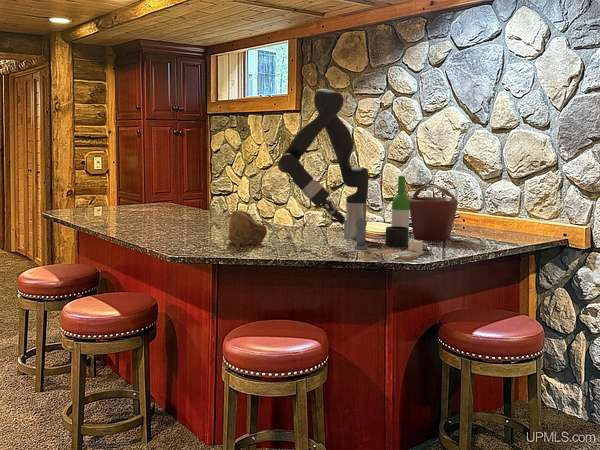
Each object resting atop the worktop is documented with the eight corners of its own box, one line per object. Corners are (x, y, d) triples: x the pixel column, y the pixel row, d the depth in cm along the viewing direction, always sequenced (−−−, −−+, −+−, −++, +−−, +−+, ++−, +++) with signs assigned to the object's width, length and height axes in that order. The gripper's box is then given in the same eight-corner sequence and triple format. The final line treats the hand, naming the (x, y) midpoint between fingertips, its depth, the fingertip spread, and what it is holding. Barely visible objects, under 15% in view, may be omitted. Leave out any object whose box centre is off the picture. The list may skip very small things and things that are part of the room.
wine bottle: (394, 245, 286) (396, 176, 282) (388, 242, 294) (390, 175, 290) (411, 245, 288) (413, 176, 284) (404, 242, 295) (407, 175, 291)
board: (346, 253, 265) (346, 249, 265) (358, 249, 274) (358, 246, 274) (408, 260, 251) (408, 256, 250) (419, 256, 260) (419, 252, 260)
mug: (408, 246, 283) (408, 226, 282) (407, 251, 272) (408, 229, 271) (386, 245, 285) (386, 225, 284) (384, 250, 274) (385, 228, 272)
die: (408, 253, 266) (408, 241, 265) (410, 251, 271) (410, 239, 270) (420, 254, 264) (421, 241, 264) (422, 252, 269) (422, 240, 269)
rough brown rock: (263, 250, 274) (266, 215, 273) (224, 246, 275) (227, 211, 273) (267, 243, 297) (270, 211, 296) (231, 240, 298) (234, 207, 296)
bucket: (464, 241, 299) (467, 187, 296) (421, 243, 292) (423, 187, 289) (437, 234, 322) (439, 183, 319) (396, 235, 315) (398, 183, 312)
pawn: (352, 249, 267) (352, 218, 265) (358, 247, 271) (358, 216, 269) (363, 250, 264) (364, 219, 262) (369, 248, 268) (370, 217, 267)
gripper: (321, 187, 258) (350, 216, 259) (322, 184, 272) (349, 212, 273) (308, 200, 259) (336, 229, 260) (309, 197, 273) (336, 225, 274)
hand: (343, 221), depth 266 cm, fingers open, 8 cm apart
